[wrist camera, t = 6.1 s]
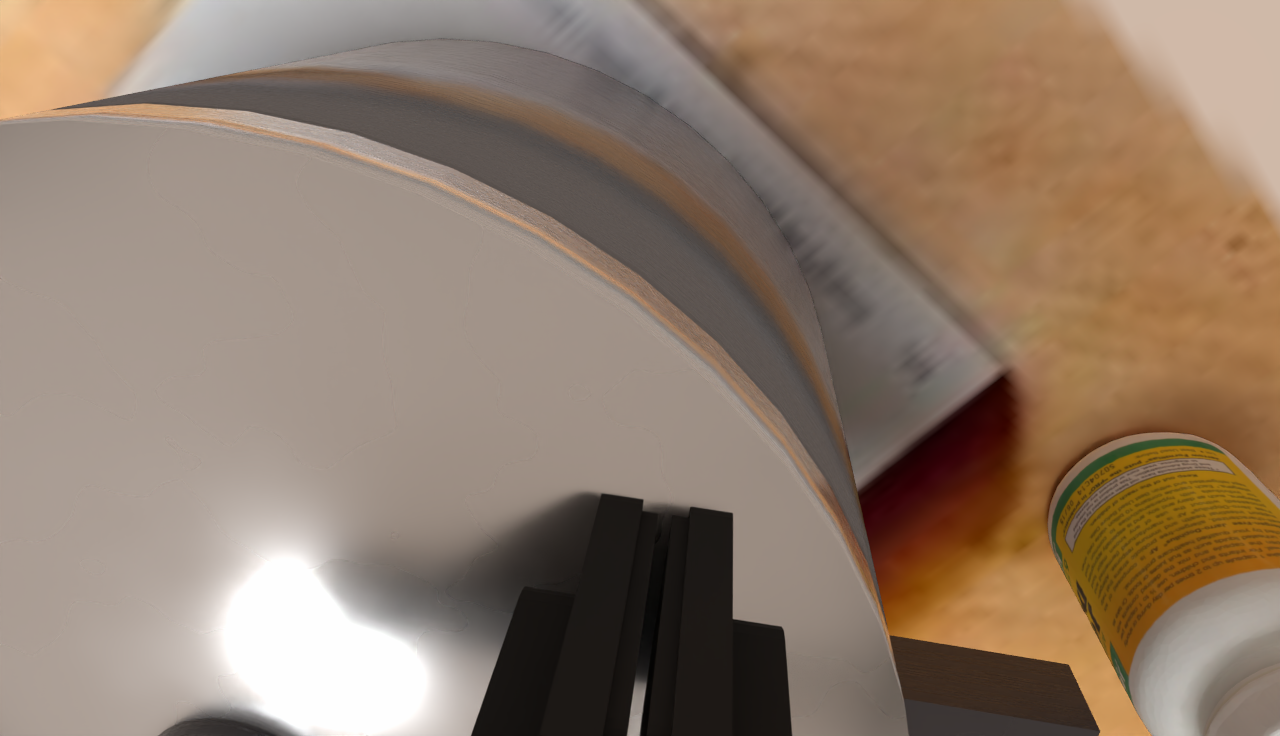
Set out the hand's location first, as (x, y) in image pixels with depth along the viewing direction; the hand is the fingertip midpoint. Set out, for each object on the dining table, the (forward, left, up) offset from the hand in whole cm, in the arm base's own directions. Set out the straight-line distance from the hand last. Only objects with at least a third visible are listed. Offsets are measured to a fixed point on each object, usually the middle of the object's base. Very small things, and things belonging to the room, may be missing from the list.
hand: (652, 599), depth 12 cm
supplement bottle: (-13, +5, -14) cm, 20 cm away
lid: (+6, +5, -1) cm, 8 cm away
